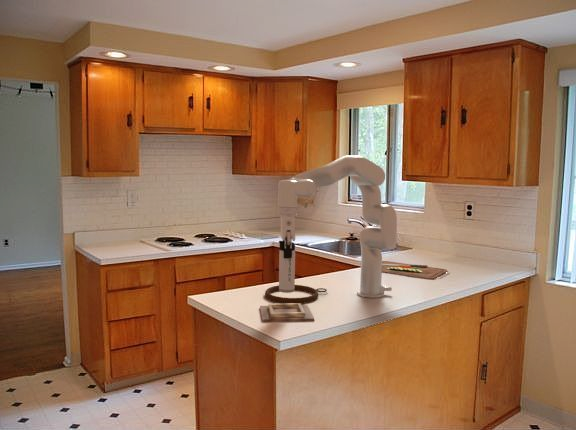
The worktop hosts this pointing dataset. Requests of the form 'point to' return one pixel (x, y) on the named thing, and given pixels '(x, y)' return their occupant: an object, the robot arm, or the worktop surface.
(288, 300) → the decorative ring
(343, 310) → the worktop surface
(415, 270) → the chopping board
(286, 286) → the travel mug
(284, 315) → the walnut coaster board
